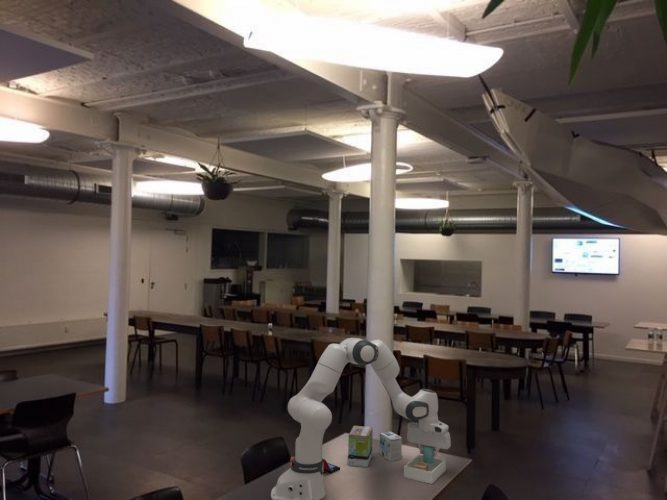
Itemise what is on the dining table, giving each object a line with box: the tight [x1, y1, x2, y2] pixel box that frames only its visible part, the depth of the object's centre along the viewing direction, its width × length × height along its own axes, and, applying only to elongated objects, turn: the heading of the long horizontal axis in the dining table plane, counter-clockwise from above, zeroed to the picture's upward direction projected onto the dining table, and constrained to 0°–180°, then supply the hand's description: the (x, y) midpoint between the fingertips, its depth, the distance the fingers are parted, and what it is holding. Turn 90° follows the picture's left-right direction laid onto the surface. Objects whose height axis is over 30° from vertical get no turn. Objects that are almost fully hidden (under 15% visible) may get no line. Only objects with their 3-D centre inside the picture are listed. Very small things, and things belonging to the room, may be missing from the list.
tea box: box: [347, 425, 374, 468], centre depth 251 cm, size 15×10×15 cm, turn 168°
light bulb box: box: [379, 431, 403, 462], centre depth 256 cm, size 11×7×11 cm, turn 25°
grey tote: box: [403, 454, 447, 485], centre depth 235 cm, size 17×13×5 cm
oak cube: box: [414, 462, 429, 471], centre depth 232 cm, size 5×5×5 cm
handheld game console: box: [323, 458, 341, 475], centre depth 240 cm, size 12×11×7 cm
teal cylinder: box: [422, 445, 435, 464], centre depth 239 cm, size 5×5×7 cm
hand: (428, 455), depth 239 cm, fingers closed on teal cylinder, 5 cm apart
